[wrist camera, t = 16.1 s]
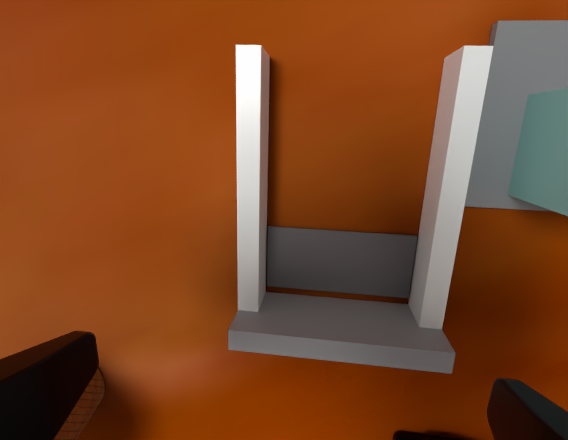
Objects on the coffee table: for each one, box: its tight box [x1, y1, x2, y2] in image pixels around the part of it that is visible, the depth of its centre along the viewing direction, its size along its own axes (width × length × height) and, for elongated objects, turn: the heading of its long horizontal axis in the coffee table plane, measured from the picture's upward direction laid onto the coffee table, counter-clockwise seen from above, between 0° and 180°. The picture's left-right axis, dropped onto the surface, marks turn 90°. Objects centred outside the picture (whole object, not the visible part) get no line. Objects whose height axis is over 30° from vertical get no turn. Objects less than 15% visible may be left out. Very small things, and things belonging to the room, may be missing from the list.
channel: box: [228, 45, 493, 374], centre depth 17 cm, size 15×11×4 cm
